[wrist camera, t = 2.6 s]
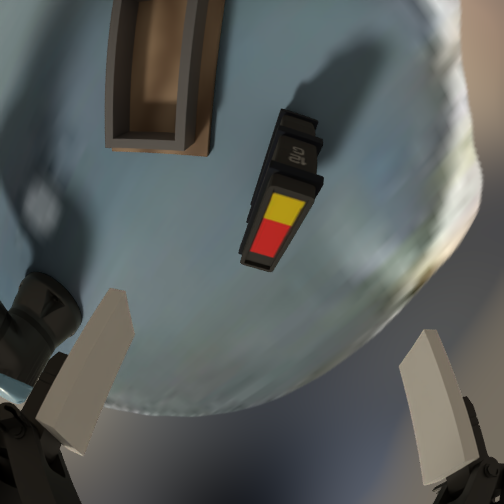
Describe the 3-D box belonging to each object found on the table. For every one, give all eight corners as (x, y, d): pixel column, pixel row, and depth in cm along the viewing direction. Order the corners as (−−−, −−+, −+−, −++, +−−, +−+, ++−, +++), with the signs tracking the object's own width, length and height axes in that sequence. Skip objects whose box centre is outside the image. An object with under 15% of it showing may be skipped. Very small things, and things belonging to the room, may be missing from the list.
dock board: (115, 149, 33) (112, 151, 32) (126, -11, 21) (122, -13, 20) (209, 154, 33) (207, 156, 32) (228, -20, 21) (226, -23, 20)
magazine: (325, 93, 26) (323, 197, 18) (287, 178, 37) (269, 283, 30) (289, 80, 26) (266, 178, 18) (259, 169, 37) (232, 272, 29)
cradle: (122, 139, 31) (105, 147, 28) (132, -5, 21) (115, -12, 18) (194, 142, 31) (184, 151, 28) (210, -12, 21) (201, -23, 18)
